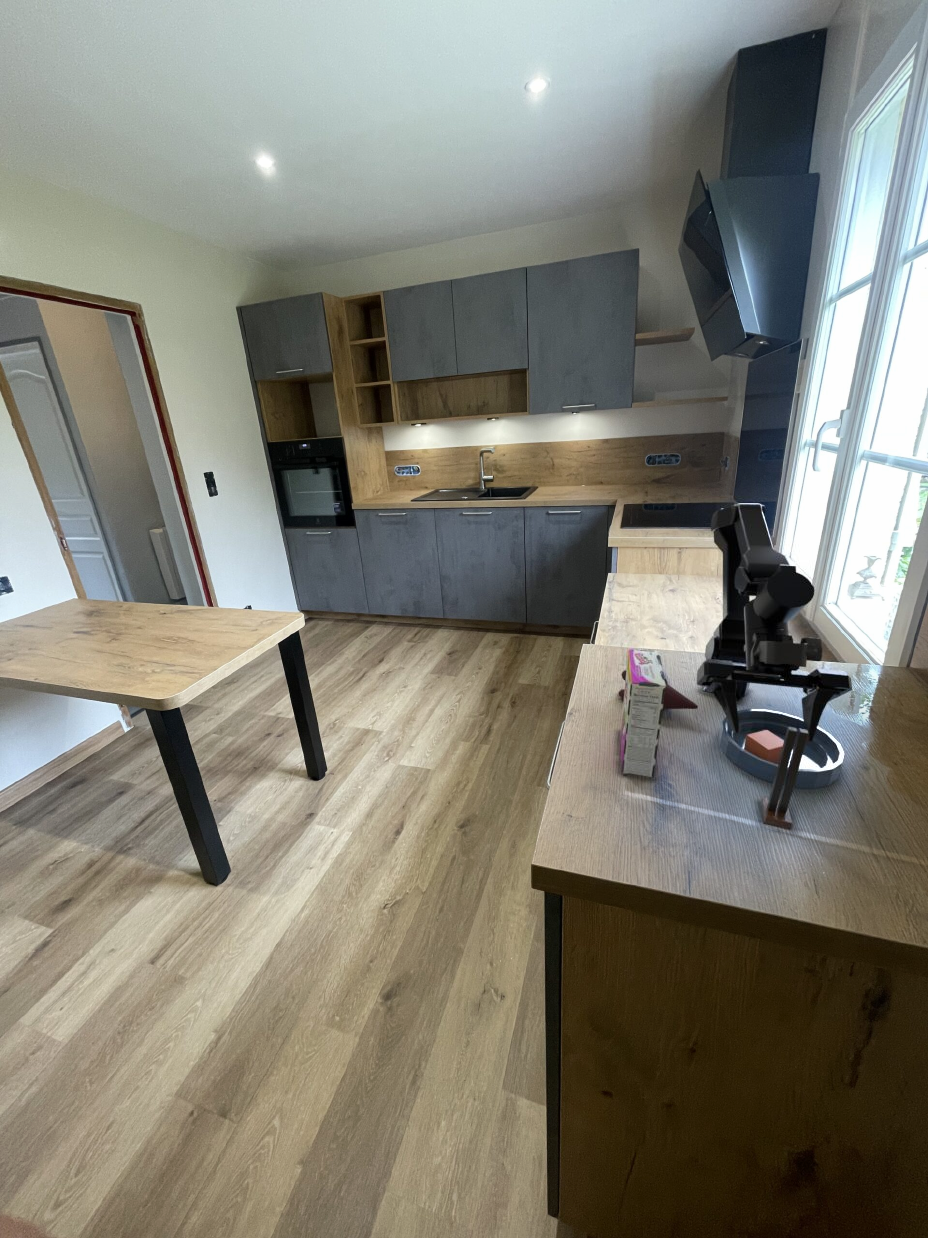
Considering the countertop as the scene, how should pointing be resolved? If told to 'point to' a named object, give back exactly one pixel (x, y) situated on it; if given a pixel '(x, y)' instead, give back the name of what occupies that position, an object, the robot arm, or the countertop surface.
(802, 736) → the dark brown forked stand
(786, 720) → the bowl
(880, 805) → the countertop surface
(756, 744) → the block
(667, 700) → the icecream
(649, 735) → the candy bar box
